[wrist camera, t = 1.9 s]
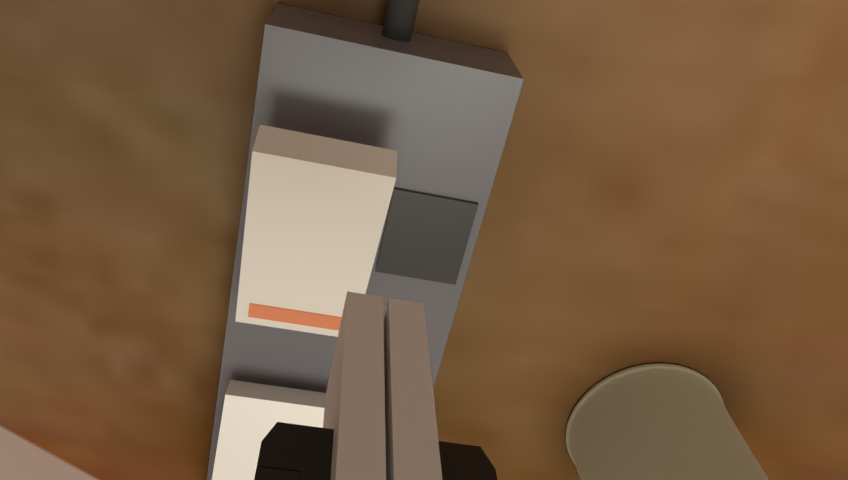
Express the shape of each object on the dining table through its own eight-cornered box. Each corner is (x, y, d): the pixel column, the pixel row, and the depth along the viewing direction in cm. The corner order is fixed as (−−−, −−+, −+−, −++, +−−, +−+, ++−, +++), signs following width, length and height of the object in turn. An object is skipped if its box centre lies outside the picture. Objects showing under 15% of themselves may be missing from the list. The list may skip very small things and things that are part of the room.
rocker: (259, 124, 27) (251, 152, 26) (397, 150, 28) (396, 179, 26) (242, 293, 33) (234, 322, 32) (355, 311, 33) (353, 340, 32)
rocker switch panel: (298, -157, 29) (283, -155, 24) (548, -94, 30) (580, -81, 25) (212, 487, 44) (193, 564, 39) (381, 507, 45) (382, 583, 41)
